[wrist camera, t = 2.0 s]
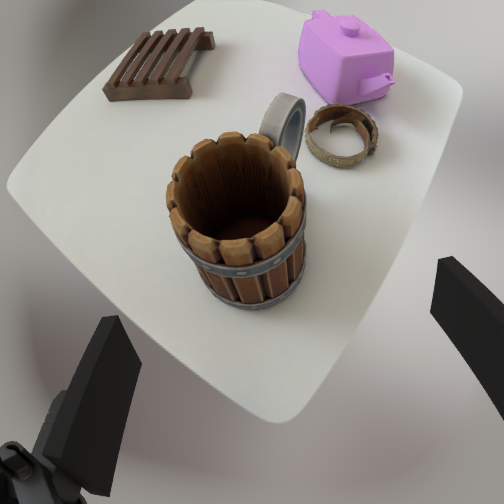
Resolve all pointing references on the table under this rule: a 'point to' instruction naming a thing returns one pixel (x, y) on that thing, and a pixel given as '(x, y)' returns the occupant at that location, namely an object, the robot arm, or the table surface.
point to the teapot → (345, 58)
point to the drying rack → (157, 84)
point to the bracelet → (342, 115)
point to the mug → (245, 209)
